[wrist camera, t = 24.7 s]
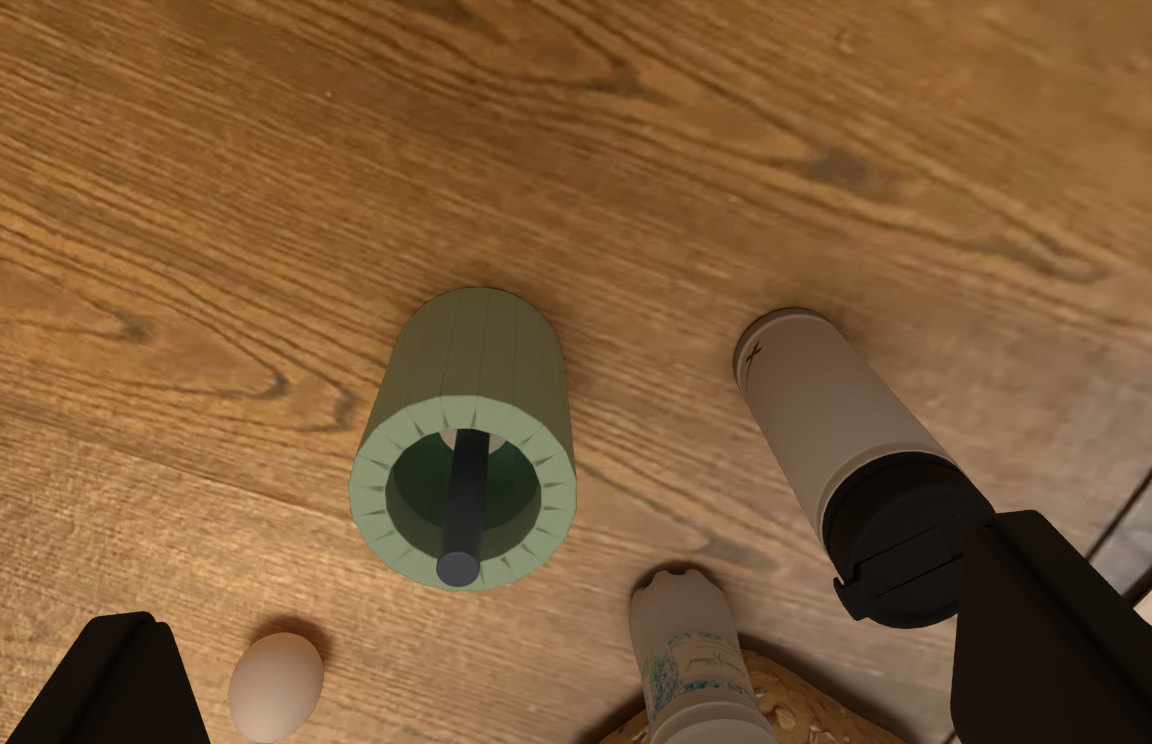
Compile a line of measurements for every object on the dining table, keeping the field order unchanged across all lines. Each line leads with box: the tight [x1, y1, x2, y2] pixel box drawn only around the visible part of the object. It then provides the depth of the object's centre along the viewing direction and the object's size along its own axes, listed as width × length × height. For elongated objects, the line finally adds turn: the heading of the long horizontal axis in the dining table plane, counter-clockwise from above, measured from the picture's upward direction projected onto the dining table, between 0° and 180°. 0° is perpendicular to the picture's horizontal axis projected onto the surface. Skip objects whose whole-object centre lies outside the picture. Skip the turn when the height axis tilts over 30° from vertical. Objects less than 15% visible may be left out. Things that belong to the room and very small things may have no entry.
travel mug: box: [733, 309, 996, 629], centre depth 42 cm, size 6×7×20 cm
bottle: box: [629, 569, 778, 744], centre depth 48 cm, size 7×7×20 cm
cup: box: [348, 287, 577, 591], centre depth 44 cm, size 9×9×14 cm
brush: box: [436, 429, 506, 587], centre depth 42 cm, size 4×4×18 cm
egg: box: [228, 632, 324, 744], centre depth 54 cm, size 5×5×7 cm
